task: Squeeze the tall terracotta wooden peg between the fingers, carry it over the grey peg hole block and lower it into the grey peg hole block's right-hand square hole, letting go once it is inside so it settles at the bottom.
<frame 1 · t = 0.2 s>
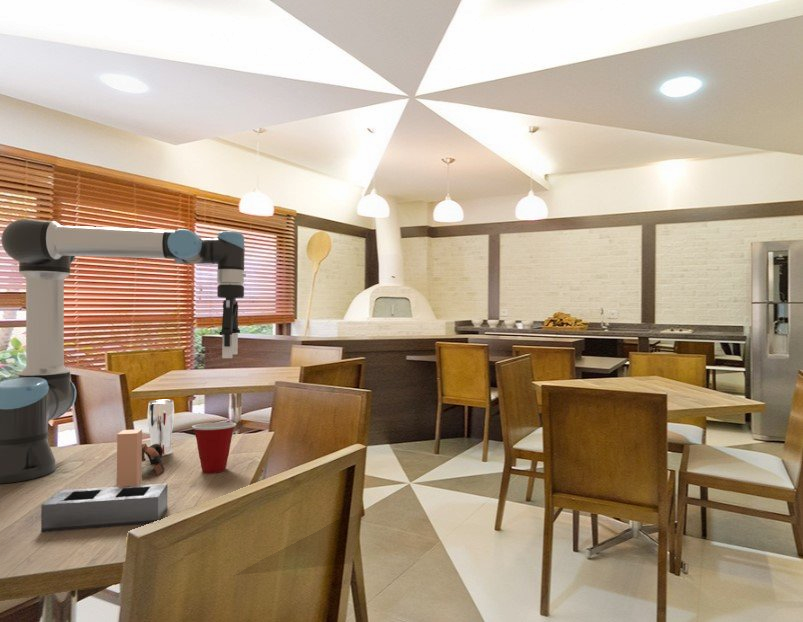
hand: (230, 356, 151), 28 cm above the table, fingers open, 13 cm apart
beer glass: (160, 454, 147), on the table
grey peg hole block: (108, 518, 101), on the table
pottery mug: (145, 472, 131), on the table
terracotta peg: (129, 494, 114), on the table
plastic cup: (214, 470, 132), on the table
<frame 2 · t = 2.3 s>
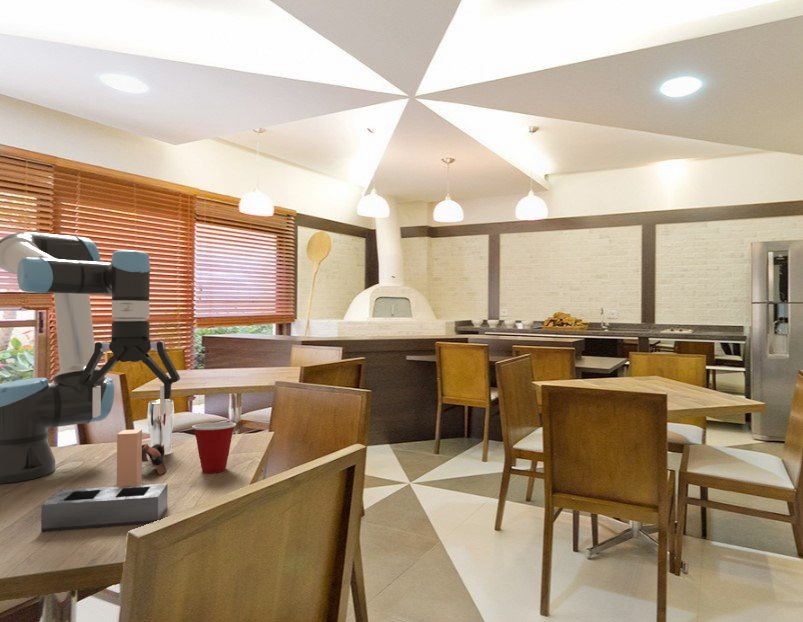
hand: (130, 415, 114), 18 cm above the table, fingers open, 13 cm apart
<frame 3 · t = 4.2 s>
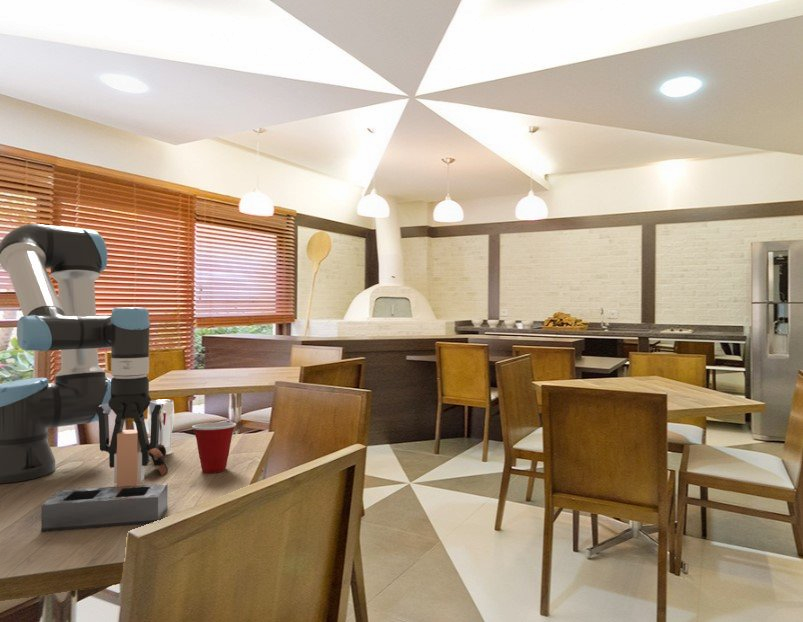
hand: (129, 480, 114), 3 cm above the table, fingers closed on terracotta peg, 4 cm apart
terracotta peg: (129, 494, 114), on the table, touching gripper
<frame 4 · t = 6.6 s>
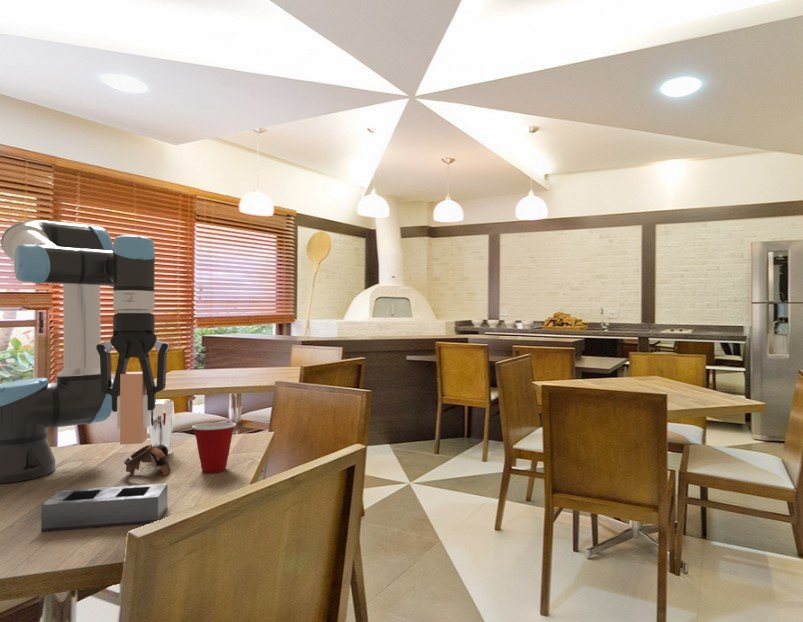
hand: (133, 426, 104), 17 cm above the table, fingers closed on terracotta peg, 4 cm apart
terracotta peg: (133, 441, 104), point 14 cm above the table, touching gripper
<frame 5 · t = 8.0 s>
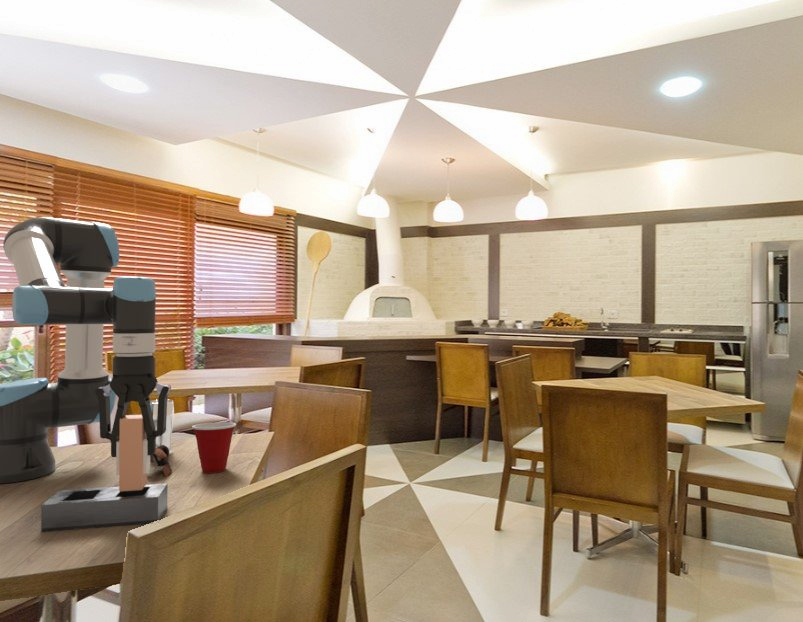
hand: (133, 471, 102), 9 cm above the table, fingers closed on terracotta peg, 4 cm apart
terracotta peg: (133, 487, 101), point 6 cm above the table, touching gripper
when the fingers open (6 cm above the table, at t = 9.1 s): terracotta peg drops 2 cm, resting on grey peg hole block.
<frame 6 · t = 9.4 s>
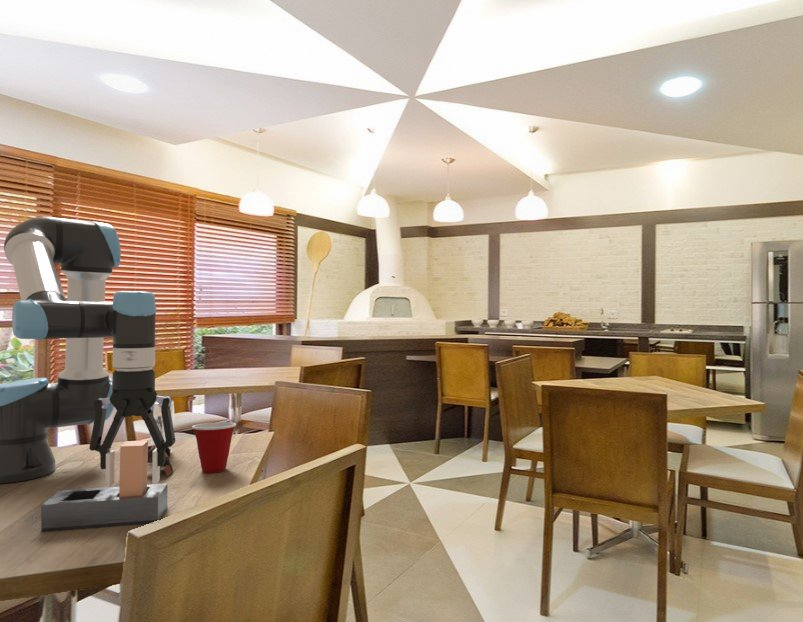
hand: (133, 483, 102), 7 cm above the table, fingers open, 8 cm apart
terracotta peg: (132, 513, 102), point 1 cm above the table, touching grey peg hole block
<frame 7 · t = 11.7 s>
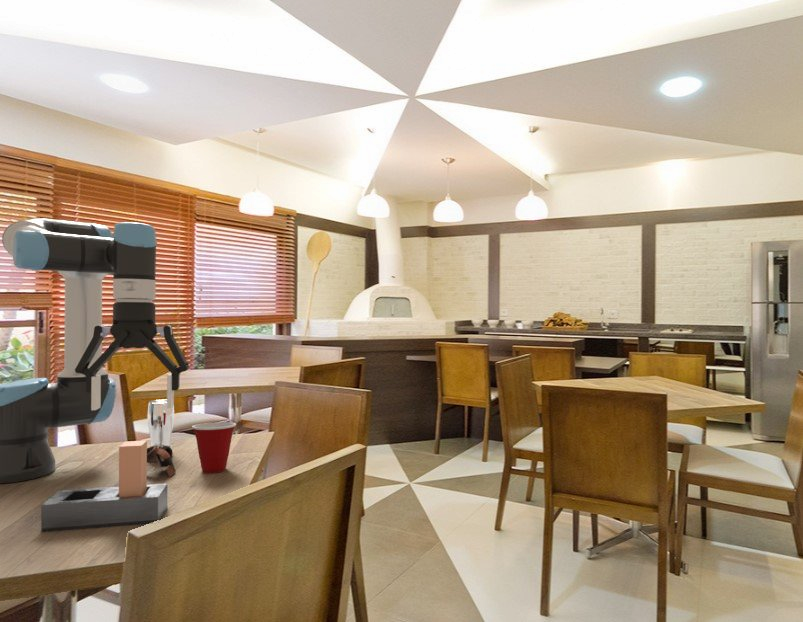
hand: (133, 408, 102), 22 cm above the table, fingers open, 13 cm apart
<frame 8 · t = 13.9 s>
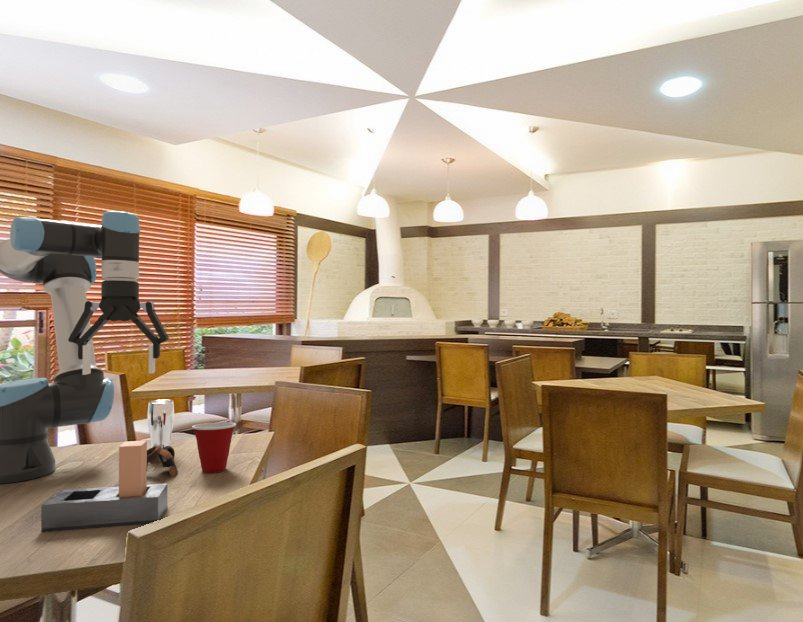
hand: (119, 373, 117), 27 cm above the table, fingers open, 13 cm apart
at the end: terracotta peg 0.1 cm from the target spot on the grey peg hole block, point 0.6 cm above the grey peg hole block's base; terracotta peg tilted 0°; the gripper is holding nothing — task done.
